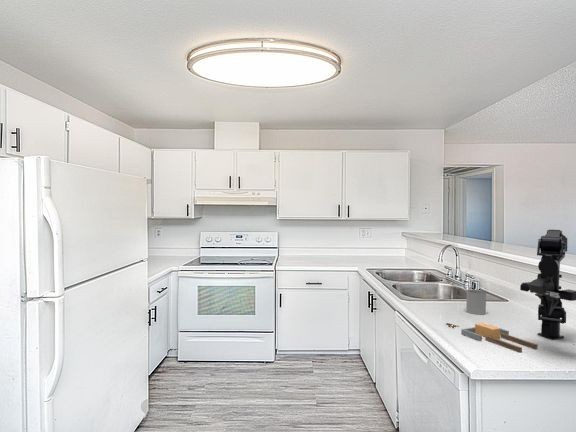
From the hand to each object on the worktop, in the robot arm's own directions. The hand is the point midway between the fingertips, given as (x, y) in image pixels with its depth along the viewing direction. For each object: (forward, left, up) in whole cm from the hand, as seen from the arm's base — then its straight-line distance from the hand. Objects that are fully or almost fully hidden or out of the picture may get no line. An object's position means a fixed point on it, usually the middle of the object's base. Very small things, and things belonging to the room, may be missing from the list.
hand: (548, 314), depth 147 cm
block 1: (+9, -20, -12) cm, 25 cm away
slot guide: (+9, -8, -12) cm, 17 cm away
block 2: (+9, -16, -12) cm, 22 cm away
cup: (-16, -45, -12) cm, 49 cm away
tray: (+9, -19, -12) cm, 24 cm away
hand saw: (+13, -42, -13) cm, 45 cm away
